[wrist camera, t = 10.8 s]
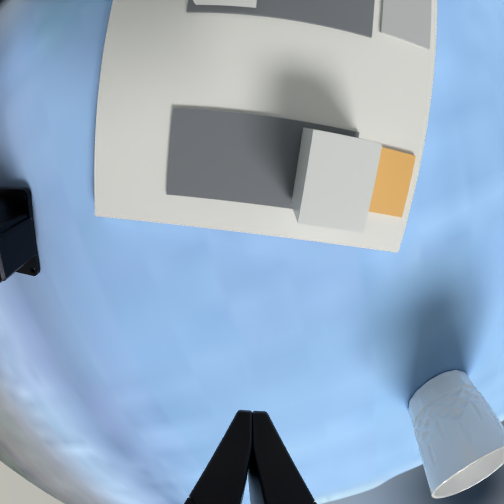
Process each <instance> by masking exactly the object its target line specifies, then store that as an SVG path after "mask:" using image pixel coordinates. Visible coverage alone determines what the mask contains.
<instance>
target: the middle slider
mask: <svg viewBox="0 0 504 504" xmlns="http://www.w3.org/2000/svg"><path fill="white" fill-rule="evenodd" d="M193 1H194V3H195V5H223V6H240V7H252V8H256V5H257V0H193Z"/></svg>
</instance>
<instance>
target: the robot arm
mask: <svg viewBox="0 0 504 504" xmlns="http://www.w3.org/2000/svg"><path fill="white" fill-rule="evenodd" d="M24 194H25V197H24ZM33 268H34V269H35V270H34V269H33ZM15 272H18V273H23V274H27V275H32V276H36V275H37V274H38V273H39V272H40V264H39V258H38V252H37V245H36V238H35V230H34V221H33V212H32V200H31V192H30V190H29V189H27V188H15V187H0V283H1V282H2V281H5V280H6V279H7V278H9V277H10V276H11V275H12V274H13V273H15ZM247 474H248V481H249V491H250V501H251V504H317V503H316V502H314V501H315V500H314V498H313V496H312V495H311V493H310V491H309V489H308V488H307V486H306V484H305V482H304V480H303V479H302V477H301V475H300V473H299V471H298V470H297V468H296V466H295V464H294V462H293V460H292V459H291V457H290V455H289V453H288V451H287V449H286V447H285V446H284V444H283V442H282V440H281V438H280V436H279V434H278V432H277V430H276V429H275V427H274V425H273V423H272V421H271V419H270V417H269V415H268V413H267V412H265V411H253V413H252V412H251V411H248V410H239V411H238V412H237V413H236V415H235V417H234V419H233V421H232V422H231V424H230V426H229V428H228V430H227V431H226V433H225V435H224V437H223V439H222V440H221V442H220V444H219V446H218V447H217V449H216V451H215V453H214V454H213V456H212V458H211V460H210V461H209V463H208V465H207V467H206V468H205V470H204V472H203V473H202V475H201V477H200V479H199V480H198V482H197V484H196V485H195V487H194V489H193V490H192V492H191V494H190V495H189V497H190V498H187V500H186V501H185V503H184V504H242V500H243V495H244V490H245V485H246V480H247Z"/></svg>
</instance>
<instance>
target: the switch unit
mask: <svg viewBox="0 0 504 504" xmlns="http://www.w3.org/2000/svg"><path fill="white" fill-rule="evenodd" d="M436 33H437V0H257V5H256V8H252V7H240V6H223V5H195V3H194V1H193V0H113V2H112V7H111V12H110V16H109V22H108V27H107V32H106V38H105V44H104V51H103V58H102V65H101V73H100V81H99V91H98V102H97V114H96V131H95V159H94V194H95V216H100V217H110V218H120V219H129V220H139V221H148V222H157V223H166V224H176V225H184V226H193V227H202V228H211V229H219V230H228V231H236V232H245V233H253V234H261V235H269V236H277V237H285V238H293V239H301V240H309V241H316V242H324V243H331V244H339V245H346V246H354V247H361V248H368V249H376V250H383V251H390V252H397V253H398V251H399V248H400V244H401V241H402V237H403V234H404V230H405V227H406V223H407V219H408V215H409V211H410V207H411V203H412V199H413V195H414V191H415V186H416V182H417V177H418V173H419V168H420V163H421V158H422V153H423V147H424V142H425V136H426V130H427V124H428V117H429V110H430V103H431V95H432V86H433V76H434V65H435V52H436ZM303 127H304V128H310V129H316V130H321V131H327V132H332V133H337V134H342V135H347V136H352V137H356V138H361V139H365V140H369V141H373V142H377V143H381V144H382V148H381V154H380V159H379V165H378V170H377V175H376V180H375V184H374V189H373V194H372V198H371V203H370V207H369V212H368V216H367V220H366V225H365V229H364V233H361V232H354V231H348V230H341V229H334V228H327V227H320V226H312V225H305V224H298V223H297V220H296V217H295V214H294V211H293V209H292V206H291V202H292V196H293V190H294V184H295V178H296V171H297V165H298V158H299V152H300V145H301V138H302V132H303Z"/></svg>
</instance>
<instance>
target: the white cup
mask: <svg viewBox="0 0 504 504" xmlns="http://www.w3.org/2000/svg"><path fill="white" fill-rule="evenodd" d="M408 412H409V415H410V418H411V421H412V424H413V427H414V431H415V437H416V440H417V443H418V446H419V451H420V455H421V458H422V462H423V465H424V469H425V472H426V476H427V480H428V483H429V487H430V491H431V495H432V497H433V498H443V497H447V496H451V495H453V494H456V493H459V492H461V491H463V490H465V489H467V488H469V487H471V486H473V485H475V484H477V483H478V482H480V481H482V480H483V479H485V478H486V477H487V476H489V475H490V474H492V473H493V472H494V471H496V470H497V469H498V468H499V467H500V466H501V465H503V464H504V427H503V425H502V424H501V422H500V421H499V419H498V417H497V416H496V414H495V413H494V411H493V410H492V408H491V407H490V405H489V404H488V402H487V401H486V400H485V398H484V397H483V396H482V394H481V393H480V392H479V391H478V390H477V389H476V387H475V386H474V385H473V383H472V382H471V380H470V379H469V377H468V376H467V374H466V373H465V372H463V371H459V370H452V371H448V372H443V373H441V374H439V375H438V376H436V377H434V378H432V379H430V380H429V381H427V382H426V383H425V384H424V385H423V386H421V387H420V388H419V389H418V390H417V391H416V392H415V394H414V395H413V397H412V398H411V400H410V401H409V408H408Z"/></svg>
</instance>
